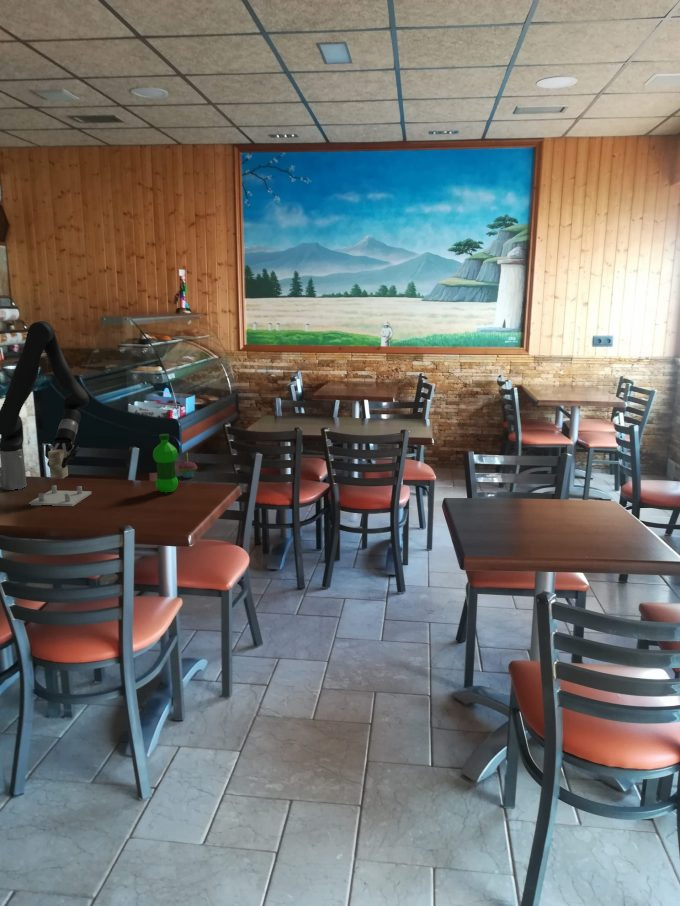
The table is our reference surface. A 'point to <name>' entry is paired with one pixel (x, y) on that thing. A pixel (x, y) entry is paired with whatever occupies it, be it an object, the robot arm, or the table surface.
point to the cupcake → (187, 468)
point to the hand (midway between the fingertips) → (56, 466)
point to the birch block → (57, 464)
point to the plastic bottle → (165, 465)
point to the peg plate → (60, 497)
